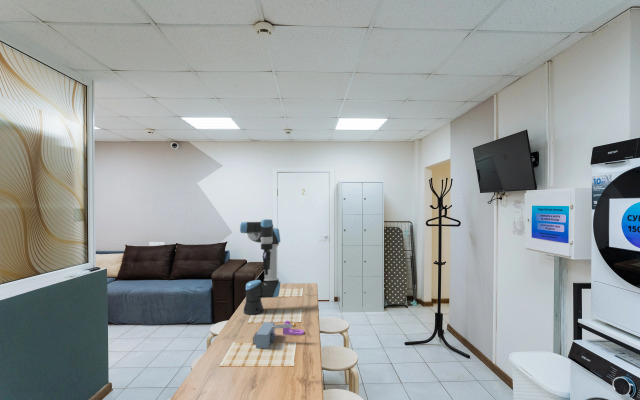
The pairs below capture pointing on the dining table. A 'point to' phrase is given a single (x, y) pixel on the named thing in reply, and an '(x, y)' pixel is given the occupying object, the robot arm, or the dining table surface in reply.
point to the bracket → (292, 330)
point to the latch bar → (284, 326)
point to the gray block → (272, 338)
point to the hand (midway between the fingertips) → (266, 279)
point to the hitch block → (264, 335)
